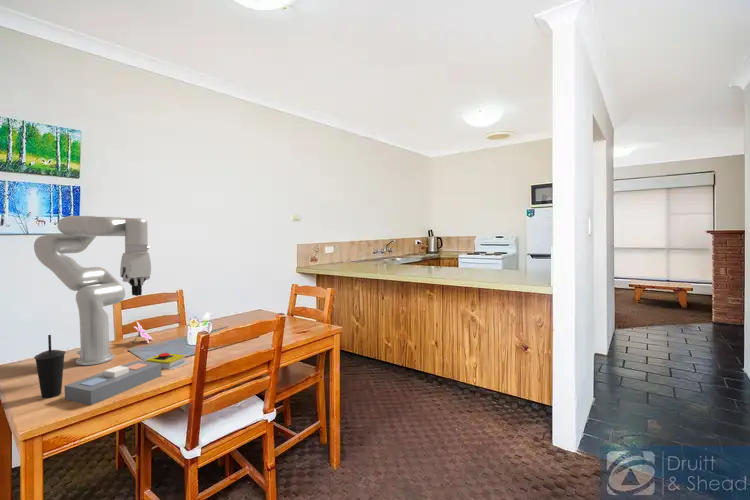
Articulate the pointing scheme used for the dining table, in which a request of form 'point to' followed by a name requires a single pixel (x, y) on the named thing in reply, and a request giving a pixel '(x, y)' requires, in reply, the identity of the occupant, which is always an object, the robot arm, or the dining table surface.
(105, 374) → the off white key
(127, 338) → the dining table surface
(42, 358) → the drinking cup
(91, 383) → the slate blue key
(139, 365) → the terracotta key
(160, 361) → the emergency button
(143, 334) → the lily
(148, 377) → the key panel
